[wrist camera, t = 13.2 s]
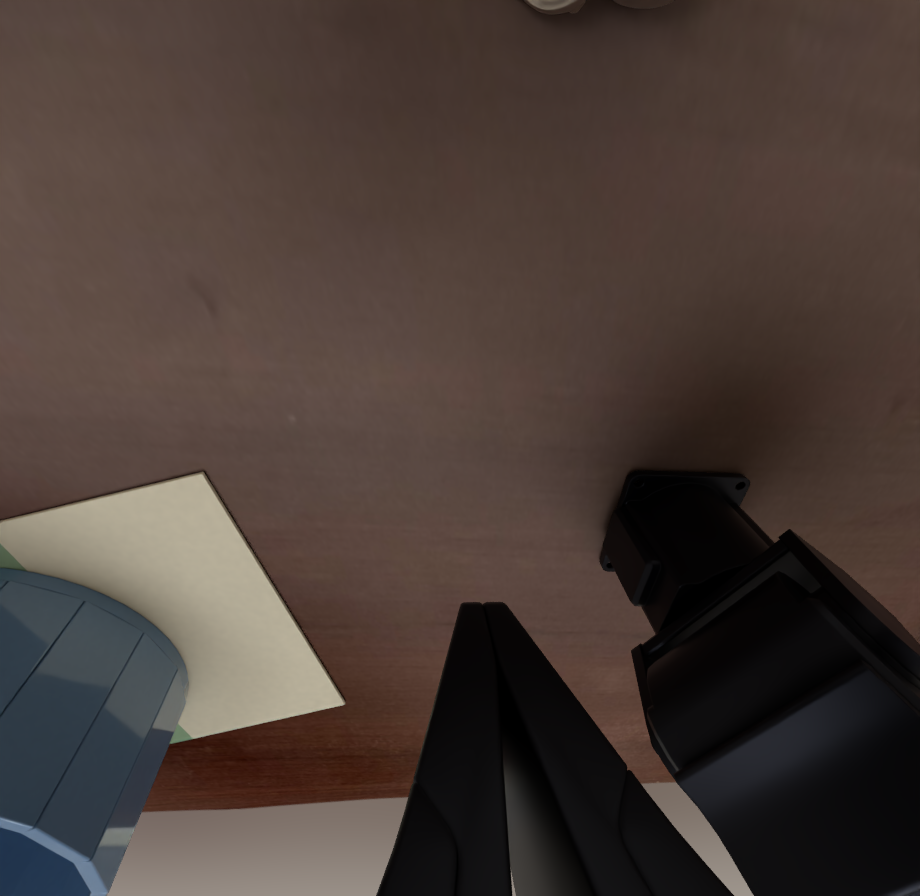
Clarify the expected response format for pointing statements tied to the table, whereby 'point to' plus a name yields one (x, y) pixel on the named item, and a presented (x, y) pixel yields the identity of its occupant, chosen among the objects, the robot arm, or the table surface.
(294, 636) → the placemat
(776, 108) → the table surface
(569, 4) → the ornament
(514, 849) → the robot arm
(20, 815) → the blue bowl
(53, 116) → the table surface
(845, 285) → the table surface
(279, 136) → the table surface
